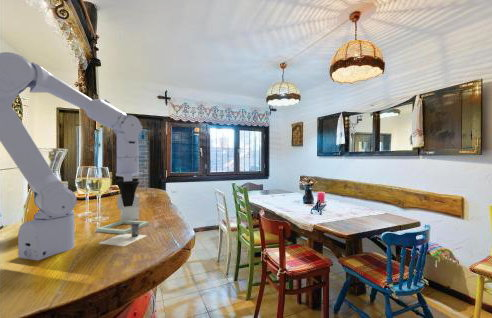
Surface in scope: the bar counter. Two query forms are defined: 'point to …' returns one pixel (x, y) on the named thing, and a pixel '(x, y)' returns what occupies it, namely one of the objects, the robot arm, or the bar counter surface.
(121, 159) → the robot arm
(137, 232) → the stake
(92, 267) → the bar counter surface
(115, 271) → the bar counter surface
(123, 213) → the eye dropper bottle
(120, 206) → the grey square block
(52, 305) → the bar counter surface
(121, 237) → the board
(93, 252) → the bar counter surface
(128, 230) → the tray
